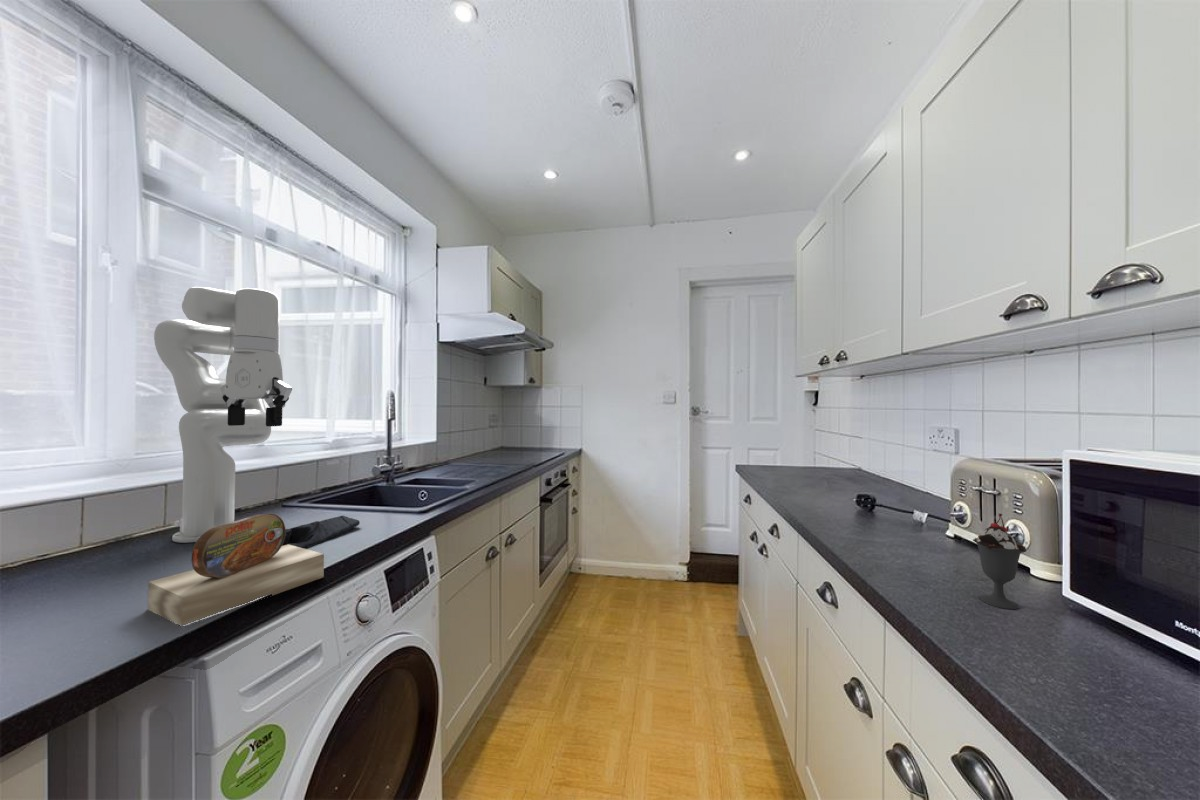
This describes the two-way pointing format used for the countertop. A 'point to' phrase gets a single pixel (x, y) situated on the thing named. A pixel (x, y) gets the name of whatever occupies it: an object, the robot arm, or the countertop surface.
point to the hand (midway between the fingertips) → (254, 425)
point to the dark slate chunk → (318, 531)
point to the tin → (238, 545)
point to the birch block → (232, 585)
